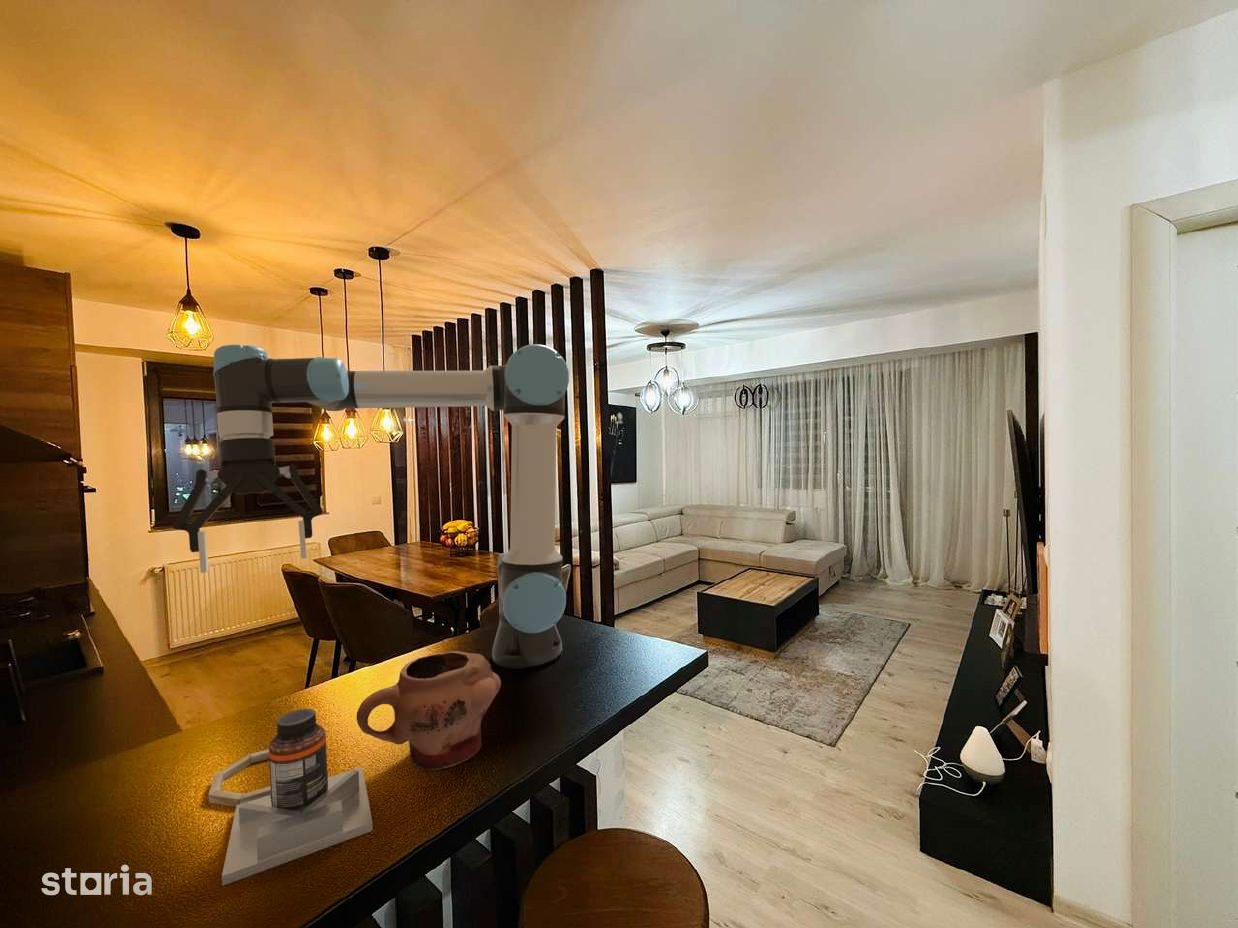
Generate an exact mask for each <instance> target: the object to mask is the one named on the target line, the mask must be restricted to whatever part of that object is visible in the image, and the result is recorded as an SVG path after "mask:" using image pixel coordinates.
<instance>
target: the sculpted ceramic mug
mask: <svg viewBox="0 0 1238 928" xmlns="http://www.w3.org/2000/svg"><path fill="white" fill-rule="evenodd" d="M501 685H502V681H501V678H500V676H499V675H498V674H497V673H495V672H494V671H493V669H492V665H491V663H490V661H488V660H487V659H486V658H485V656H484V655H483V654H481V653H471V652H466V651H465V652H464V651H457V650H456V651H450V652H449V651H448V652H444V653H437V654H431V655H430V654H429V655H426V656H422V657H418V658H416V659H415V658H414V660H411V661H409V662H408V663H406V664H405V665H404V666H403V667H402V668H401V670H400V671H399V677H398V681H397V683H395V684H394V685H392V686H389V687H384V688H382V689H378V690H377V691H374V692H373V693H372V694H370V695H368V696H367V697H366V698H365V699H364V700H363V701H362V702H361V703H360V705H359V707H358V709H357V712H356V723H357V725H358V727H359V728H360V730H361V732H363V733H364V734H366V735H370V736H371V737H374V738H376V739H378V740H381V741H384V742H389V743H392V744H395V745H403V744H405V743H406V742H408V745H409V756H410V759H411V761H412V762H413V763H414V764H415V766H416V767H417V768H419V769H421V770H428V771H436V770H441V769H442V770H443V769H445V768H450V767H454V766H457V765H459V764H461V763H463V762H465V761H468V760H469V759H471V758H473V757H474V756H475V755H476V754H477V753H479V750H480V749H481V747H482V740H483V739H482V732H481V729H482V728H481V727H482V726H481V724H482V721H483V717H484V716H485V715H486V713H487V710H488V708H489V707H490V706H491V704H492V702H493V700H494V698H495V697H496V696H497V694H498V693H499V691H500V688H501V687H502V686H501ZM381 705H389V706H390V707H392V709H393V712H394V721H393V723H392V724H391V725H390V726H389V727H388V728H387V729H385V730H375V729H373V728H372V727H371V726H370V725H369V716H370V715H371V714H372V713H371V712H372V711H373V710H374V709H375V708H377V707H380V706H381Z"/></svg>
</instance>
